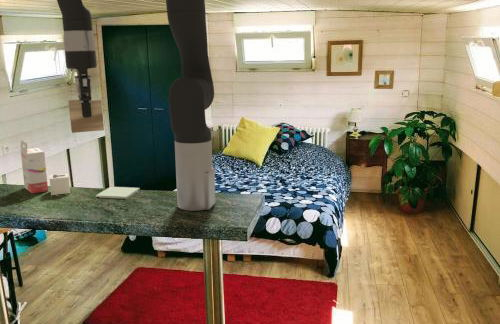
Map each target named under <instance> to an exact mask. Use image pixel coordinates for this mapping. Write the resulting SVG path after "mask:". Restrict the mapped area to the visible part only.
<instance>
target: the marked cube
mask: <svg viewBox="0 0 500 324" xmlns="http://www.w3.org/2000/svg"><path fill="white" fill-rule="evenodd" d="M49 186H50V196H51V197H53V196H52V195H56V196H58V195H57V194H62V193H70V194H71V188H70V178H69V173H58V174H49Z"/></svg>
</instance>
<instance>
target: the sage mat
mask: <svg viewBox="0 0 500 324" xmlns="http://www.w3.org/2000/svg"><path fill="white" fill-rule="evenodd" d="M138 190H139V191H141V190H140V187H130V186H129V187H127V186H110V187H108V188H106V189H104V190H103V191H101V192H99V193H97V194H95V198H97V197H99V198H101V199H120V200H122V199H124V200H127V199H128V198H130V197H132V195H134V194H136V193H137V192H139V191H138Z"/></svg>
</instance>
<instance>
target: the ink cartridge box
mask: <svg viewBox="0 0 500 324" xmlns="http://www.w3.org/2000/svg"><path fill="white" fill-rule="evenodd" d="M45 155H46V154H45V151H44V150H41V149H40V148H38V147H32V148H28V143H27V142H26V141H25V140H22V139H20V157H21V166H22V176H23V185H24V188H25V189H26V190H27V191H28V192H29V193H30V194H36V193H37V194H38V193H45V192H48V191H49V186H48V185H49V184H48V177H47V175H48V174H47V167H46V166H47V165H46V156H45Z"/></svg>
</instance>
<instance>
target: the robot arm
mask: <svg viewBox="0 0 500 324" xmlns="http://www.w3.org/2000/svg"><path fill="white" fill-rule="evenodd" d="M56 2H57V5H58V7H59V9H60V13H61V17H62V18H61V19H62V29H63V47H64V57H65V58H64V59H65V66H66V67H65V68H66V69H68V70H70V69H71V70H76V74H77V75H74V83H75V87H76V93H77V94H78V95H77V96H78V100H80V102H81V105H82V115H83V117H84V118H87V117H91V116H92V114H91V99H93V98H92V93H93V92H92V90H93V89H92V76H91V75H89V73H88V72H89V71H88V70H89V69H96V68H97V65H98V63H97V53H96V52H97V51H96V42H95V37H94V31H93V21H92V13H91V11H90V10H89V8H87V7H86V6H85V5H84V4H83V0H56ZM165 5H166V16H167V22H168V25H169V29H170V31H171V35H172V37H173V40H174V41H175V43H176V46H177V48H178V49H177V50H178V51H179V56H180V60H181V61H180V63H181V74H182V75H181V76H180V77H178V78H177V79H175V80H174V81H173V82H172V83H171V85H170V87H169V91H168V92H169V93H168V106H169V107H168V108H169V118H170V119H169V121H170V127H171V131H172V133H173V137H174V153H175V154H174V155H175V158H174V159H175V179H176V181H175V182H176V202H177V207H178V208H179V209H180V210H183V211H188V212H189V211H190V212H192V211H193V212H194V211H204V210H208V211H209V210H211V209H212V207H213V206H214V205H215V204H216V180H215V179H216V177H215V176H216V173H215V172H216V171H215V168H214V167H213V152H212V151H213V149H212V147H213V146H212V145H213V144H212V142H213V141H212V130H211V128H210V127H209V126H208V124H207V122H206V110H207V109H208V108H210V107H211V105H212V103H213V102H214V98H215V89H214V82H213V77H212V70H211V65H210V59H209V51H208V50H209V49H208V31H207V17H206V16H207V13H206V2H205V0H165Z"/></svg>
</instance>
